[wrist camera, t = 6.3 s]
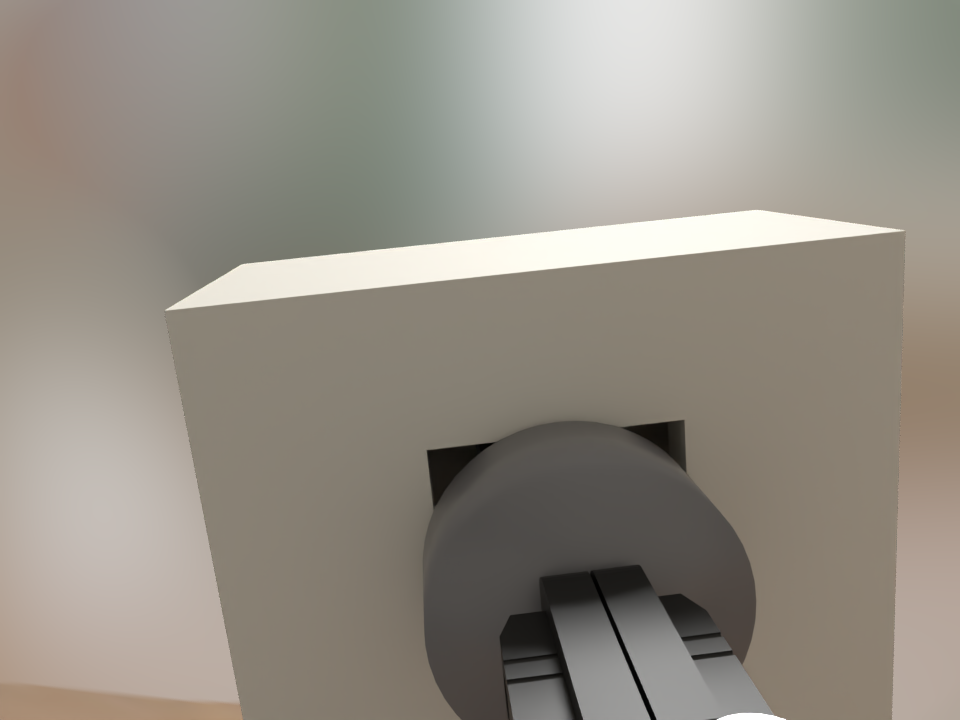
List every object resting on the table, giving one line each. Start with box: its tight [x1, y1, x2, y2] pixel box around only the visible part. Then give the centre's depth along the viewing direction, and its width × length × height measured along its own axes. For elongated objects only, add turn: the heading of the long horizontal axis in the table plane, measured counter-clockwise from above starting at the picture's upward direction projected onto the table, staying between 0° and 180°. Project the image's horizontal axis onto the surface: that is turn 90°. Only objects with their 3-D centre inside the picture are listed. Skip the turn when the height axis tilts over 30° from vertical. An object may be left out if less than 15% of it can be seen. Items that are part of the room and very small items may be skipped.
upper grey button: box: [423, 421, 756, 720], centre depth 16 cm, size 7×5×5 cm
